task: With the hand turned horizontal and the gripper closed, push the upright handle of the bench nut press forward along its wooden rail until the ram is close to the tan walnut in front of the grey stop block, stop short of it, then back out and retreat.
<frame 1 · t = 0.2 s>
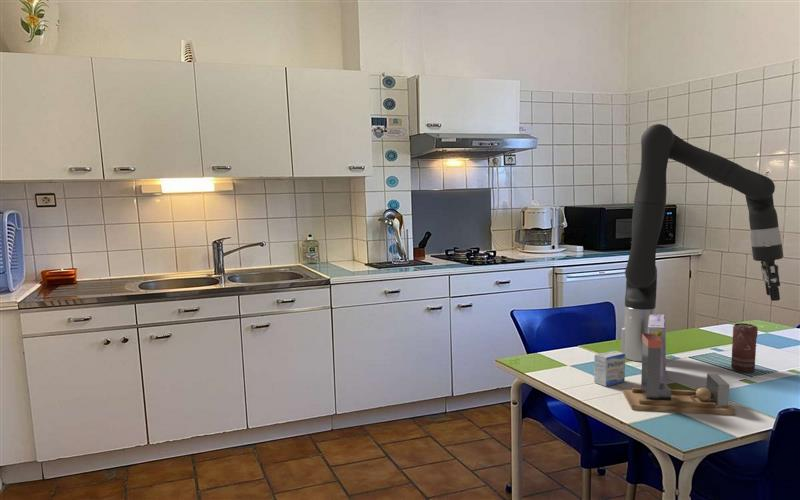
hand: (773, 297, 163), 23 cm above the table, tool pointing down, fingers open, 8 cm apart
medicine box: (609, 383, 161), on the table
walnut: (703, 400, 143), point 1 cm above the table, touching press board
ram: (656, 366, 144), point 10 cm above the table, slide at 0.0 cm
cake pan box: (656, 378, 164), on the table
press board: (676, 403, 144), on the table
grey stop block: (716, 401, 142), resting on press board
can: (743, 370, 169), on the table
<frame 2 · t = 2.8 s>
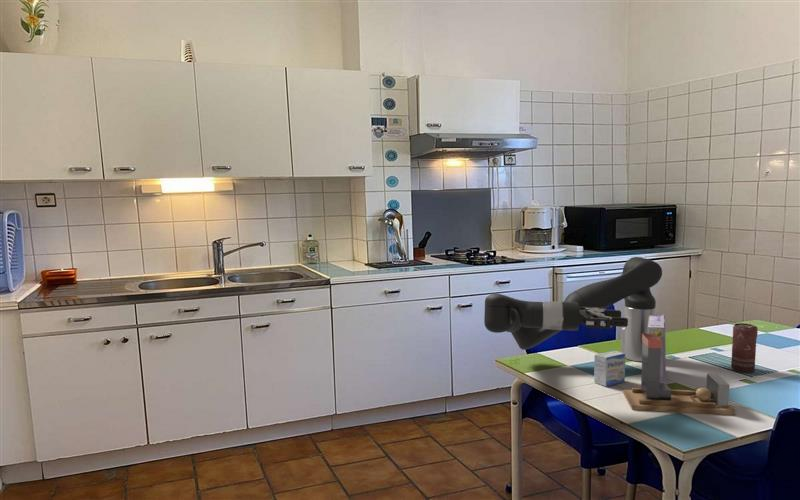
hand: (624, 318, 144), 23 cm above the table, tool horizontal, fingers open, 8 cm apart
nothing on the table moved.
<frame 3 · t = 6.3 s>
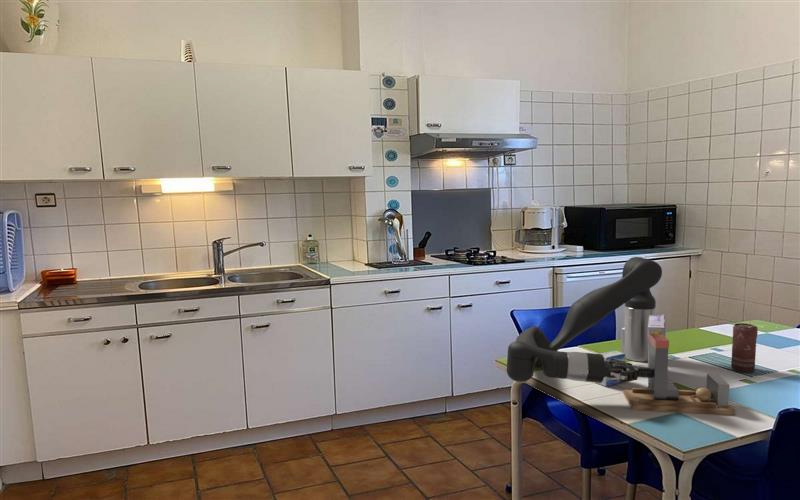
hand: (652, 373, 144), 8 cm above the table, tool horizontal, fingers closed
ram: (663, 367, 144), point 10 cm above the table, slide at 1.8 cm, touching gripper
everything else where it was.
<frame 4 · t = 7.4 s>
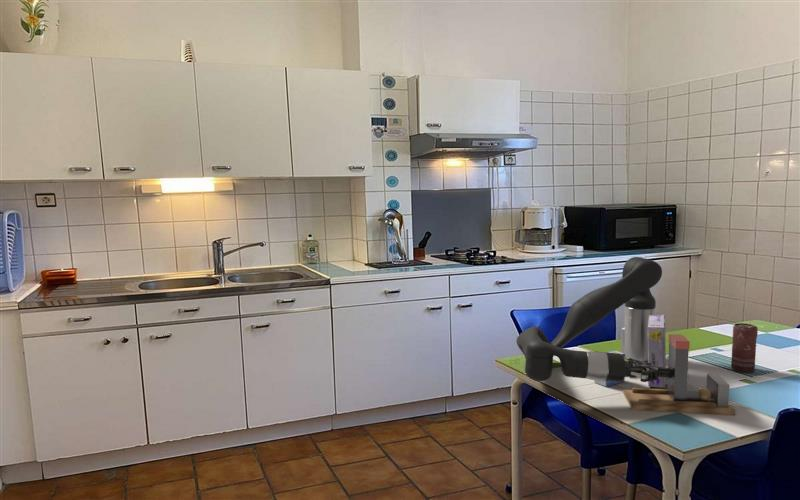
hand: (671, 373, 143), 9 cm above the table, tool horizontal, fingers closed
ram: (683, 367, 143), point 10 cm above the table, slide at 6.6 cm, touching gripper
everything else where it was.
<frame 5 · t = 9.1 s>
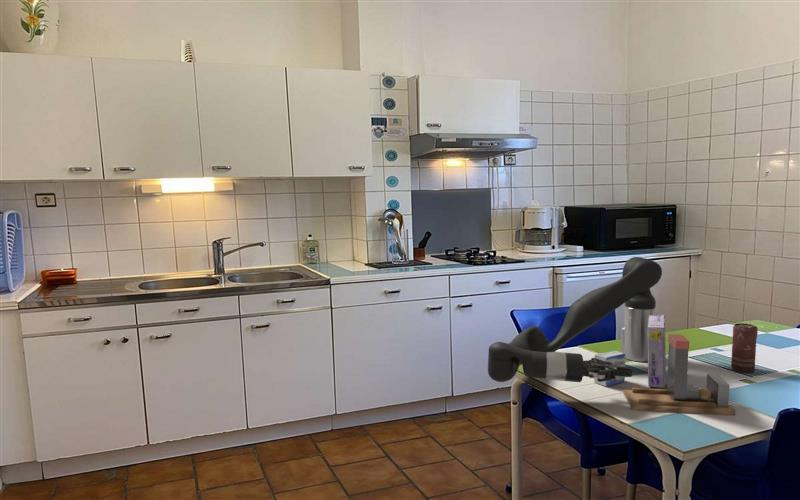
hand: (631, 372, 145), 8 cm above the table, tool horizontal, fingers closed
ram: (683, 367, 143), point 10 cm above the table, slide at 6.5 cm
everything else where it was.
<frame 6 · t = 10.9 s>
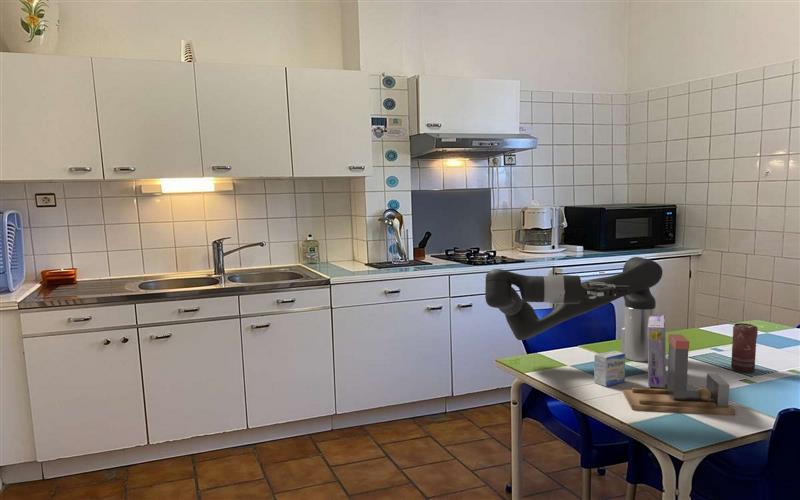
hand: (630, 290, 143), 30 cm above the table, tool horizontal, fingers closed
nothing on the table moved.
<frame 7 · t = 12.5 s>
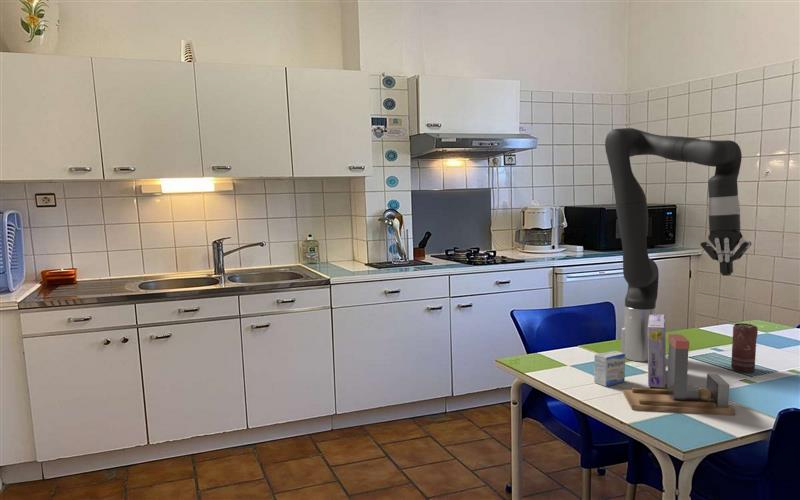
hand: (726, 275, 154), 32 cm above the table, tool pointing down, fingers closed
nothing on the table moved.
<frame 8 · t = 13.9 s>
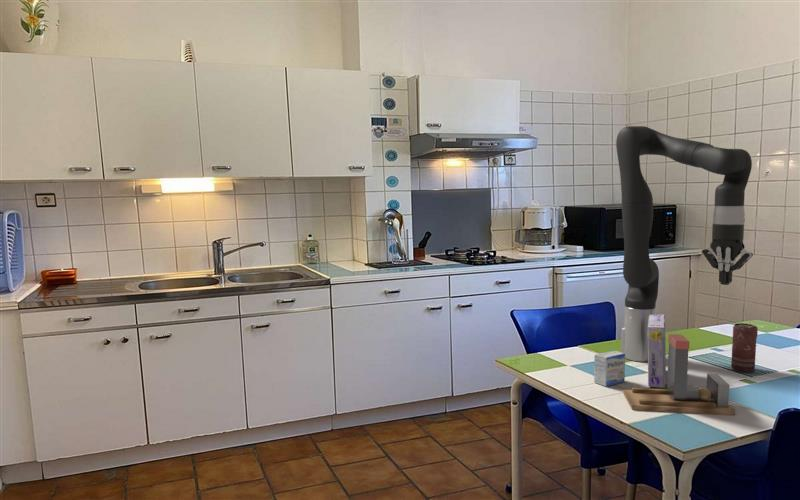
hand: (725, 284, 154), 29 cm above the table, tool pointing down, fingers closed
nothing on the table moved.
at the end: ram slide at 6.5 cm; walnut moved 0.1 cm from its start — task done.
